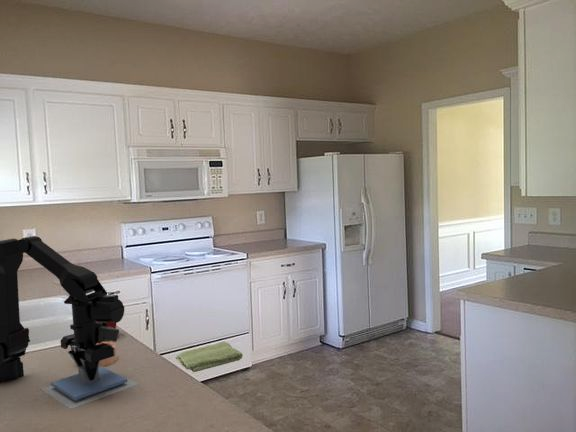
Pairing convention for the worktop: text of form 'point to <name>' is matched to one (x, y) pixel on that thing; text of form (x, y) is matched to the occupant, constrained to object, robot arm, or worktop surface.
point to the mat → (75, 403)
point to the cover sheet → (88, 383)
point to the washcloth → (209, 356)
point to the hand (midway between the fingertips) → (89, 378)
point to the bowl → (108, 360)
